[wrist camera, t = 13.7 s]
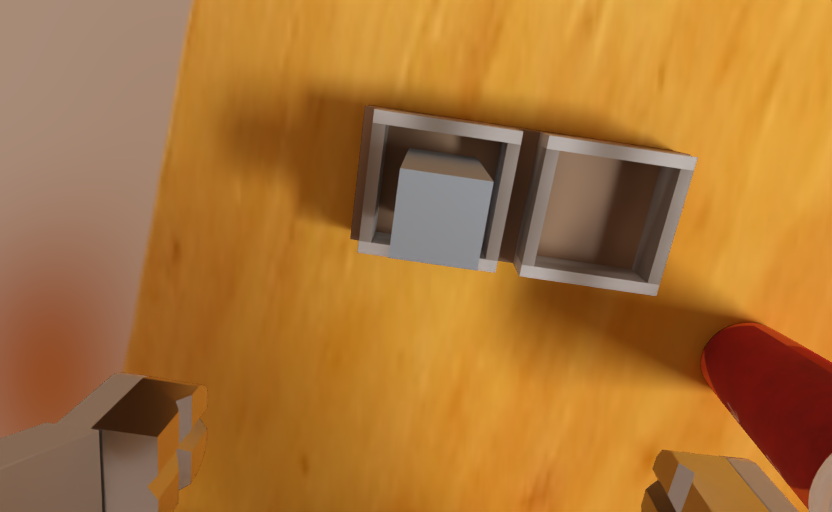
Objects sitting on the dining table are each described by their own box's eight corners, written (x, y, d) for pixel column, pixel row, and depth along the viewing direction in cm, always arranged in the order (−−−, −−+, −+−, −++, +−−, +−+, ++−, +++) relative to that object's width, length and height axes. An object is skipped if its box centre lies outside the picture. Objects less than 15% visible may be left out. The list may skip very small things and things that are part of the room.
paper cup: (678, 408, 38) (814, 581, 24) (691, 308, 35) (848, 438, 22) (791, 406, 37) (991, 581, 24) (811, 305, 35) (1044, 436, 22)
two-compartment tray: (675, 151, 32) (712, 159, 28) (640, 273, 35) (669, 298, 30) (369, 105, 32) (359, 106, 28) (354, 231, 34) (343, 250, 30)
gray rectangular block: (476, 157, 31) (493, 181, 22) (465, 223, 32) (477, 270, 23) (409, 147, 31) (399, 168, 22) (400, 214, 32) (388, 257, 23)
